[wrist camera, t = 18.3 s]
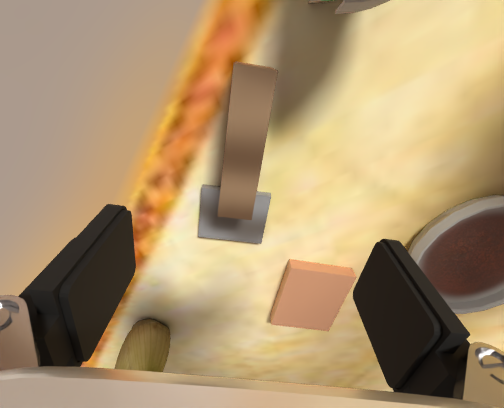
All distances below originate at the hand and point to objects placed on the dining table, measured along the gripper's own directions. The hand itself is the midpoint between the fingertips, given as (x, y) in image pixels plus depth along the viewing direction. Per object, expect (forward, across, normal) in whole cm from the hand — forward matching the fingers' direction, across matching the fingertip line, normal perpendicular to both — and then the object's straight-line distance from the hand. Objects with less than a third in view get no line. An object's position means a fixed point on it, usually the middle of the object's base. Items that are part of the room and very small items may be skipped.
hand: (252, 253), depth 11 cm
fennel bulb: (+16, +10, +29) cm, 35 cm away
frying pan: (+18, -30, +5) cm, 36 cm away
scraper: (+17, +1, +3) cm, 17 cm away
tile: (+16, -11, +14) cm, 24 cm away
